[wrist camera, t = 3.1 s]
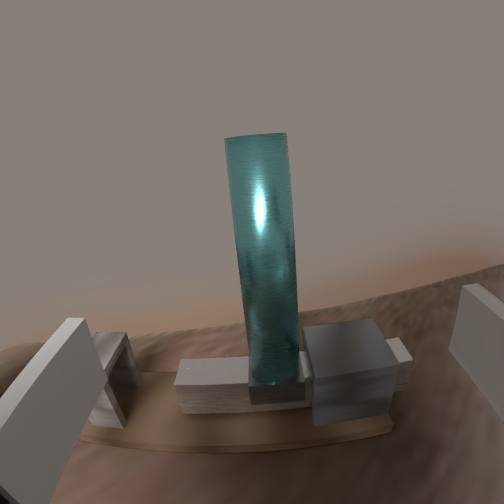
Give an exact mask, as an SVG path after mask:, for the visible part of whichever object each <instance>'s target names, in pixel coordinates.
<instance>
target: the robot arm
mask: <svg viewBox="0 0 504 504" xmlns="http://www.w3.org/2000/svg"><path fill="white" fill-rule="evenodd" d="M448 350H449V351H450V352H451V354H452V355H453V356H454V357H455V359H456V360H457V361H458V363H459V364H460V365H461V366H462V368H463V369H464V370H465V371H466V373H467V374H468V375H469V377H470V378H471V379H472V381H473V382H474V383H475V384H476V386H477V387H478V388H479V390H480V391H481V392H482V394H483V395H484V397H485V398H486V399H487V401H488V402H489V403H490V405H491V406H492V408H493V409H494V410H495V412H496V413H497V415H498V416H499V417H500V419H501V420H502V422H503V423H504V303H503V302H501V301H500V300H499V299H498V298H496V297H495V296H494V295H493V294H491V293H490V292H489V291H487V290H486V289H485V288H484V287H482V286H481V285H480V284H478V283H475V284H469V285H463V286H462V290H461V296H460V301H459V306H458V311H457V315H456V320H455V324H454V329H453V333H452V337H451V341H450V345H449V348H448ZM107 381H108V378H107V376H106V374H105V371H104V369H103V366H102V364H101V361H100V359H99V356H98V353H97V351H96V348H95V345H94V343H93V340H92V337H91V334H90V331H89V329H88V326H87V323H86V320H85V318H67V319H66V321H65V322H64V323H63V324H62V325H61V326H60V327H59V328H58V329H57V331H56V332H55V333H54V334H53V335H52V336H51V337H50V338H49V340H48V341H47V342H46V343H45V344H44V345H43V347H42V348H41V349H40V350H39V351H38V352H37V354H36V355H35V356H34V357H33V358H32V359H31V361H30V362H29V363H28V364H27V365H26V367H25V368H24V369H23V370H22V372H21V373H20V374H19V375H18V376H17V378H16V379H15V380H14V381H13V383H12V384H11V385H10V386H9V388H8V389H7V390H6V391H5V392H3V393H2V394H1V395H0V504H9V503H10V504H49V501H50V499H51V497H52V494H53V492H54V490H55V488H56V485H57V483H58V481H59V479H60V476H61V474H62V472H63V470H64V467H65V465H66V463H67V461H68V459H69V457H70V455H71V452H72V450H73V448H74V446H75V444H76V442H77V440H78V438H79V436H80V434H81V432H82V430H83V428H84V426H85V424H86V422H87V419H88V417H89V416H90V414H91V412H92V410H93V408H94V406H95V404H96V402H97V400H98V398H99V396H100V394H101V392H102V390H103V388H104V386H105V384H106V383H107Z"/></svg>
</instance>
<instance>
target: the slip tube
mask: <svg viewBox="0 0 504 504" xmlns="http://www.w3.org/2000/svg"><path fill="white" fill-rule="evenodd" d="M224 140H225V141H224V142H225V151H226V160H227V170H228V178H229V188H230V197H231V206H232V215H233V224H234V232H235V242H236V250H237V258H238V267H239V275H240V284H241V292H242V300H243V308H244V317H245V325H246V333H247V341H248V349H249V356H245V357H229V358H208V359H181V362H180V365H179V368H178V372H177V375H176V379H175V382H174V388H175V391H176V394H177V397H178V400H179V403H180V406H181V409H182V412H183V414H211V413H242V412H259V411H273V410H284V409H294V408H303V407H311V406H312V393H313V376H312V371H311V367H310V363H309V359H308V354H307V351H301V352H299V331H298V303H297V281H296V258H295V240H294V225H293V224H294V223H293V208H292V195H291V180H290V168H289V155H288V144H287V134H286V133H272V134H260V135H259V134H258V135H248V136H238V137H231V138H225V139H224ZM386 341H387V343H388V344H389V346H390V348H391V349H392V351H393V353H394V355H395V356H396V358H397V360H398V361H399V363H400V367H399V371H398V376H397V381H396V385H395V389H394V392H398V391H402V390H406V388H407V384H408V380H409V376H410V372H411V367H412V363H413V359H412V357H411V355H410V354H409V352H408V351H407V349H406V348H405V346H404V345H403V343H402V342H401V340H400V339H399V337H398V338H392V339H387V340H386Z"/></svg>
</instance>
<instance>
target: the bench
mask: <svg viewBox="0 0 504 504" xmlns="http://www.w3.org/2000/svg"><path fill="white" fill-rule="evenodd" d="M92 340H93V343H94V345H95V348H96V351H97V353H98V356H99V359H100V361H101V364H102V366H103V369H104V371H105V374H106V376H107V378H108V381H107V383H106V384H105V386H104V388H103V390H102V392H101V394H100V396H99V398H98V400H97V402H96V404H95V406H94V408H93V410H92V412H91V414H90V416H89V417H88V419H87V422H86V424H85V426H84V428H83V430H82V432H81V434H80V436H79V438H78V440H80V441H85V442H91V443H97V444H103V445H110V446H117V447H125V448H133V449H143V450H154V451H167V452H187V453H243V452H263V451H277V450H288V449H298V448H306V447H314V446H322V445H328V444H335V443H341V442H347V441H352V440H358V439H363V438H368V437H372V436H377V435H381V434H386V433H390V432H391V431H392V428H393V425H394V424H393V422H392V419H391V417H390V415H389V410H390V406H391V402H392V398H393V394H394V389H395V385H396V381H397V376H398V371H399V367H400V363H399V361H398V360H397V358H396V356H395V355H394V353H393V351H392V349H391V348H390V346H389V344H388V343H387V341H386V339H385V338H384V336H383V334H382V333H381V331H380V330H379V328H378V326H377V325H376V323H375V321H374V320H373V318H369V319H362V320H355V321H348V322H340V323H332V324H324V325H315V326H306V327H303V351H307V354H308V359H309V363H310V367H311V371H312V376H313V393H312V406H311V407H303V408H294V409H284V410H273V411H259V412H242V413H211V414H183V412H182V409H181V406H180V403H179V400H178V397H177V394H176V391H175V388H174V382H175V379H176V375H177V372H140V371H139V369H138V366H137V363H136V360H135V357H134V354H133V352H132V349H131V346H130V343H129V340H128V336H127V334H126V332H96V333H95V335H94V336H93V338H92Z"/></svg>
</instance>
